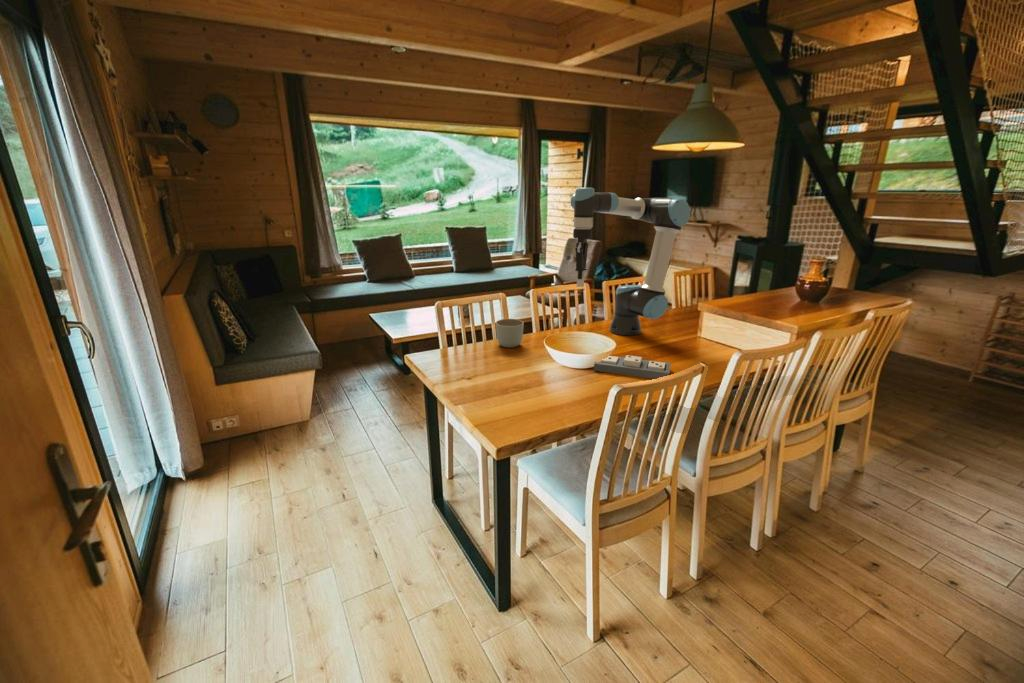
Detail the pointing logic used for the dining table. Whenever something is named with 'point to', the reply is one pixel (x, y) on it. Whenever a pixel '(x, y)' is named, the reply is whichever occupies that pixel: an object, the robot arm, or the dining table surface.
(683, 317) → the dining table surface
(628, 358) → the tile two pips
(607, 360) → the tile one pip
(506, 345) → the planter
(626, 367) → the board
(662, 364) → the tile three pips
